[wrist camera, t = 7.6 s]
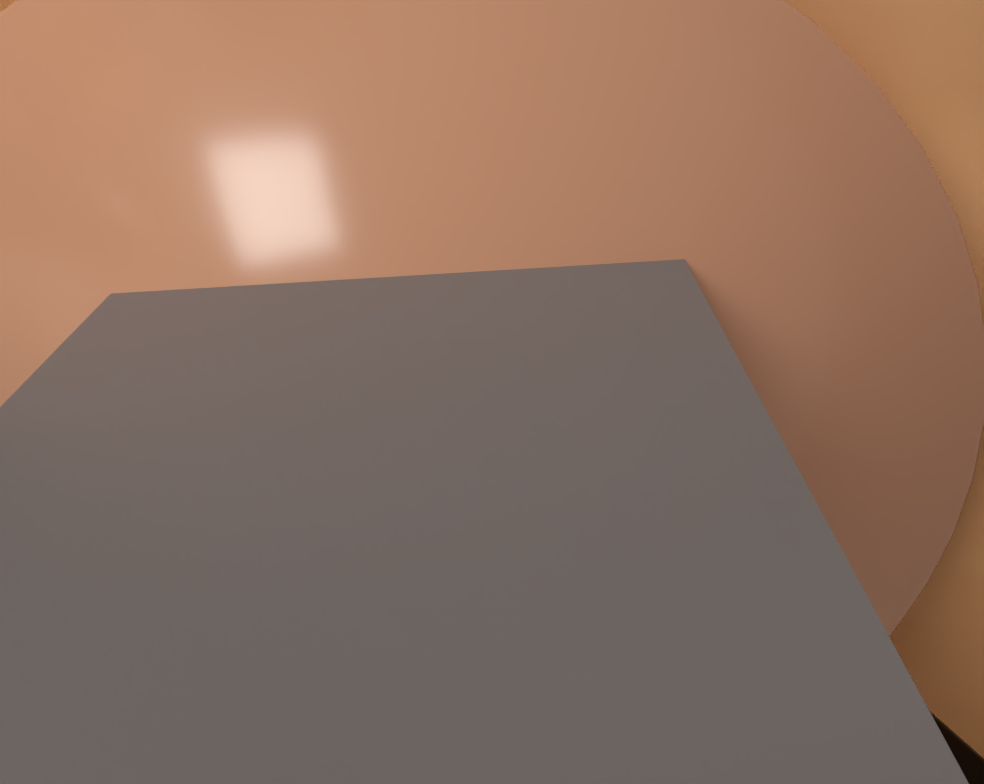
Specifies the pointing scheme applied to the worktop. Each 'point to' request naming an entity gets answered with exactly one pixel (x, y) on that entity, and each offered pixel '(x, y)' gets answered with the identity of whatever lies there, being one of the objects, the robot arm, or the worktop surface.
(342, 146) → the peach round platter
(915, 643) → the worktop surface
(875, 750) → the matte slate cube
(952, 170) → the worktop surface
